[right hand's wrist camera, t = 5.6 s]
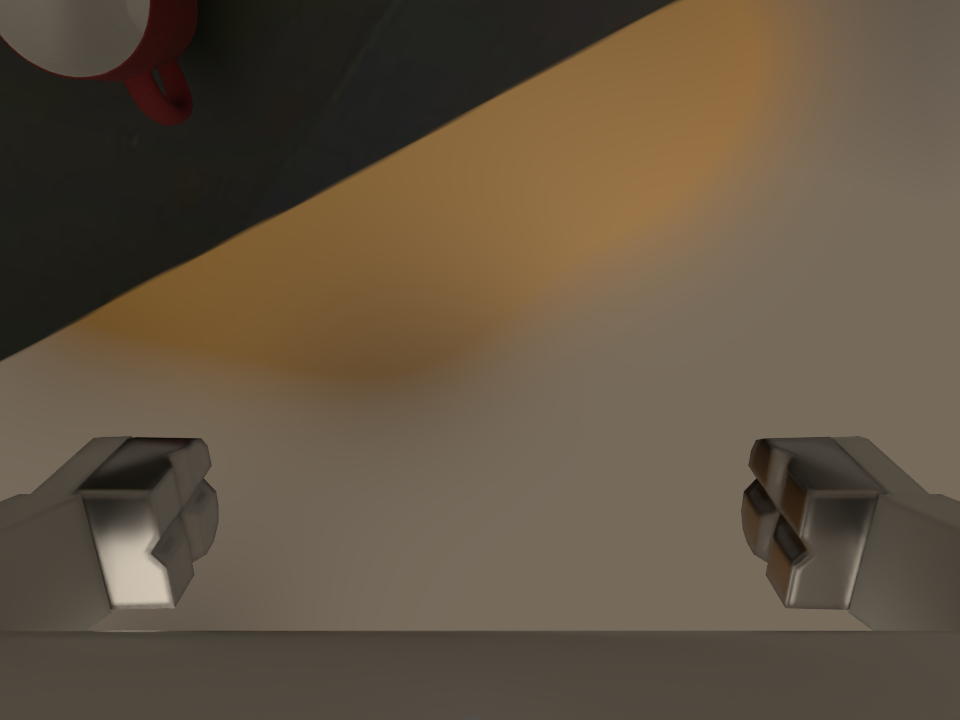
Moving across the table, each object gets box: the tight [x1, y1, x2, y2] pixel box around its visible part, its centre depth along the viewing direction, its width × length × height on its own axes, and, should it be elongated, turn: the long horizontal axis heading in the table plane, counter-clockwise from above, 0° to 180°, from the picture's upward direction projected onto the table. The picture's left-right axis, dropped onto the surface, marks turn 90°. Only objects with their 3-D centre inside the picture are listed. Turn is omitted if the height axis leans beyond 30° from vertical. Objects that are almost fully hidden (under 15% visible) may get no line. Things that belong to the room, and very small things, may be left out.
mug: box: [0, 0, 198, 126], centre depth 35 cm, size 11×8×10 cm
